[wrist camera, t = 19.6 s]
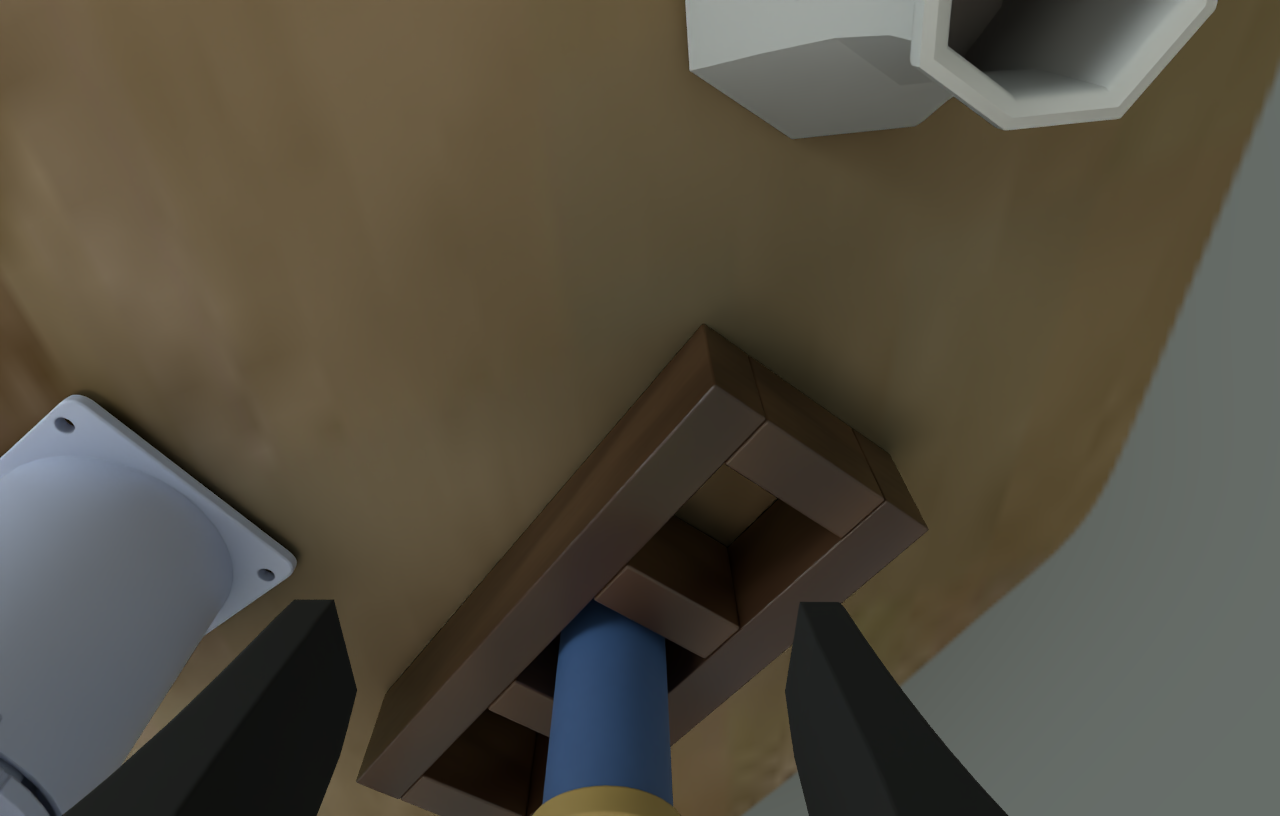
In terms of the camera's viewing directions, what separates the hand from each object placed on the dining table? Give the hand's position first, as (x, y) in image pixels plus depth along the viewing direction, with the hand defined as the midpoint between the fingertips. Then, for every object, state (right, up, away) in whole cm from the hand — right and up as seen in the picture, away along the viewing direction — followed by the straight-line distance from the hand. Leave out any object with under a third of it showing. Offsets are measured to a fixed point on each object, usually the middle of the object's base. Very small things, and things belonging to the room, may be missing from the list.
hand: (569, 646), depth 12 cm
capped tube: (0, -2, +13) cm, 14 cm away
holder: (0, -2, +13) cm, 14 cm away
